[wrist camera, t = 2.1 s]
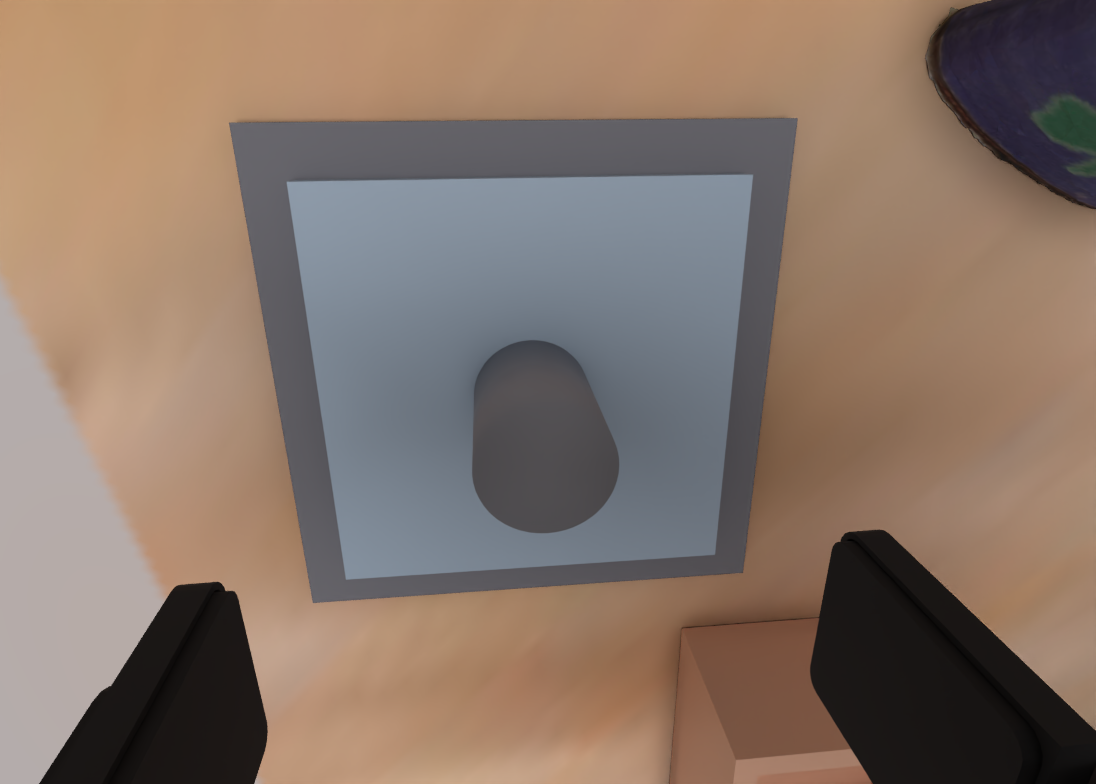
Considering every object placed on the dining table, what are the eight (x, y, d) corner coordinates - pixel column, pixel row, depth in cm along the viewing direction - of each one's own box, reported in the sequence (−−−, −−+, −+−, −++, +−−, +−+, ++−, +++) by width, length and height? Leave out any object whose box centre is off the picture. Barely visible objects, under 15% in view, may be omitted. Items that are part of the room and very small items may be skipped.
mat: (788, 118, 19) (797, 118, 19) (736, 562, 25) (742, 572, 25) (236, 123, 18) (229, 122, 18) (316, 592, 24) (312, 602, 23)
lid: (742, 173, 19) (843, 186, 14) (707, 542, 24) (772, 657, 19) (294, 179, 18) (216, 197, 13) (350, 565, 23) (310, 695, 18)
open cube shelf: (915, 610, 27) (1028, 732, 22) (874, 780, 31) (961, 922, 25) (682, 628, 26) (736, 760, 21) (667, 801, 30) (710, 952, 24)
